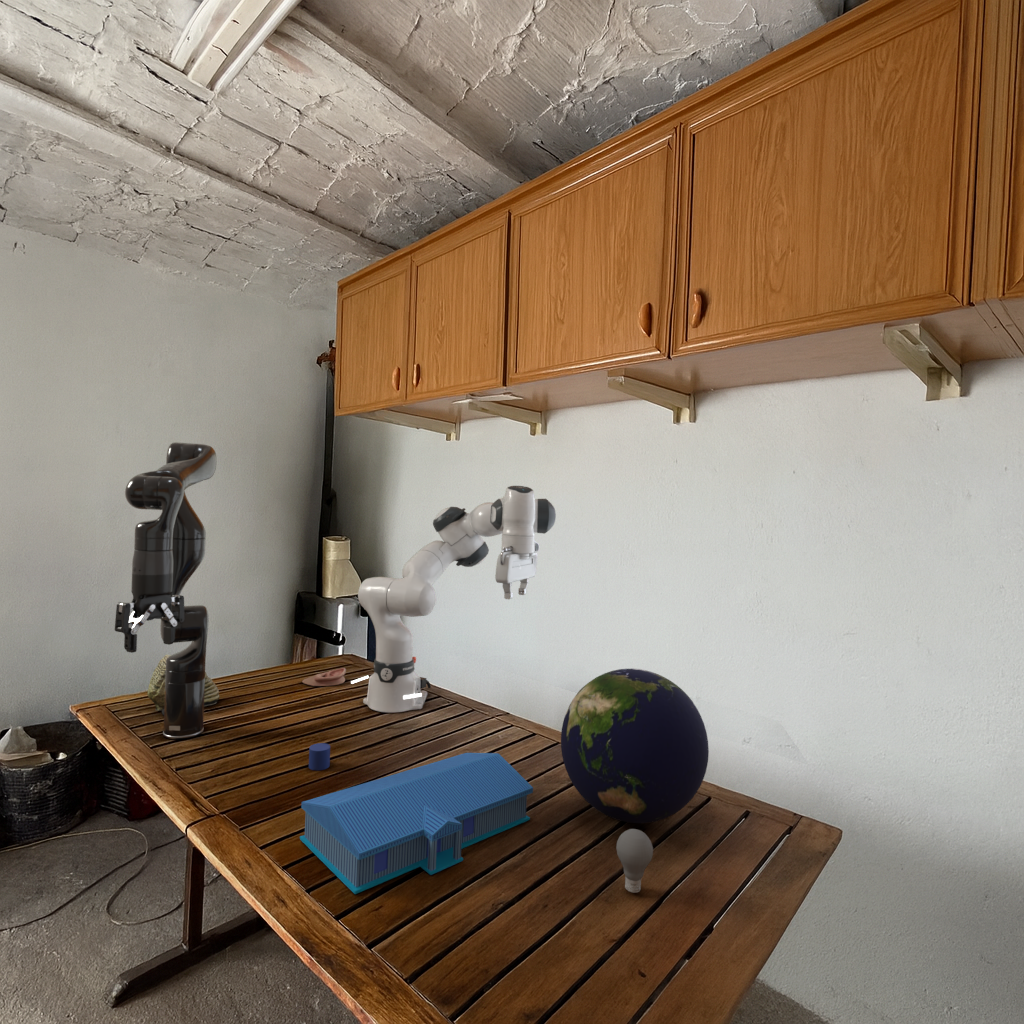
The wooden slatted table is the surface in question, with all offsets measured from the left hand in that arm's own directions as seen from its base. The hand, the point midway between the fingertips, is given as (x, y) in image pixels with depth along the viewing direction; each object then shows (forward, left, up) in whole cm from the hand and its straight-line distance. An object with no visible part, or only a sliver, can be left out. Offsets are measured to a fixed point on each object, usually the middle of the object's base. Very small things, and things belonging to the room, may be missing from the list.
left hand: (150, 647), depth 133 cm
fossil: (-50, +22, -30) cm, 62 cm away
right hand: (+25, +82, +8) cm, 86 cm away
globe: (+72, +72, -30) cm, 106 cm away
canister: (+12, +33, -30) cm, 46 cm away
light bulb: (+88, +51, -30) cm, 106 cm away
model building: (+51, +35, -30) cm, 69 cm away
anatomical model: (-49, +65, -30) cm, 87 cm away
